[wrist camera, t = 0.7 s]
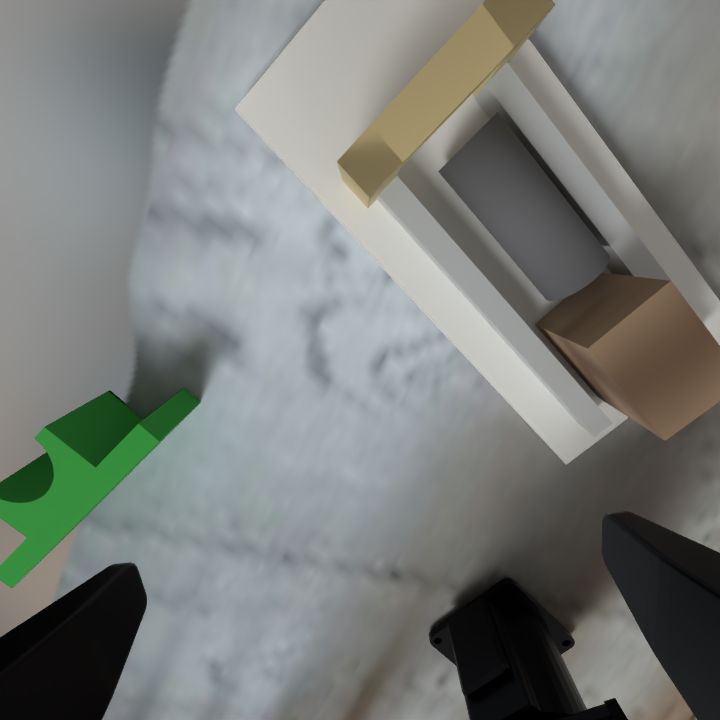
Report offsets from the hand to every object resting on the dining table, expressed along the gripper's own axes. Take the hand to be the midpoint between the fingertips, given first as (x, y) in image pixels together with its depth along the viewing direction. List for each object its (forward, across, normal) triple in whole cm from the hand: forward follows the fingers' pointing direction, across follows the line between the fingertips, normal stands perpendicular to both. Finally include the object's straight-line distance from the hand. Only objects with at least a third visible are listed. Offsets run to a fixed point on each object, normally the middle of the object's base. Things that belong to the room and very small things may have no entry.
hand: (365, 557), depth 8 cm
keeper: (+12, -11, 0) cm, 16 cm away
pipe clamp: (+13, +14, +2) cm, 20 cm away
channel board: (+13, -7, -6) cm, 16 cm away
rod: (+12, -7, -6) cm, 15 cm away
